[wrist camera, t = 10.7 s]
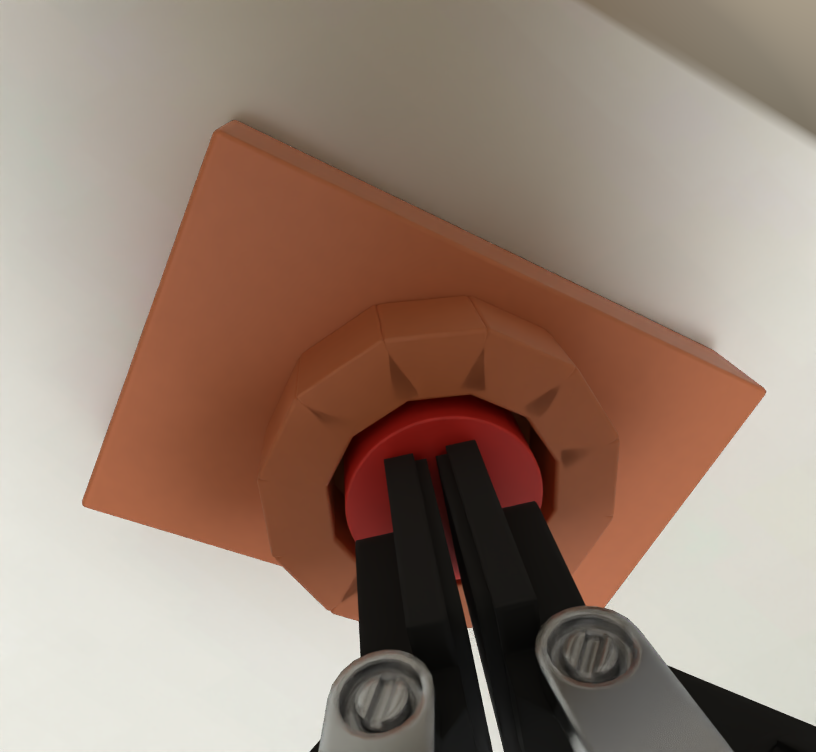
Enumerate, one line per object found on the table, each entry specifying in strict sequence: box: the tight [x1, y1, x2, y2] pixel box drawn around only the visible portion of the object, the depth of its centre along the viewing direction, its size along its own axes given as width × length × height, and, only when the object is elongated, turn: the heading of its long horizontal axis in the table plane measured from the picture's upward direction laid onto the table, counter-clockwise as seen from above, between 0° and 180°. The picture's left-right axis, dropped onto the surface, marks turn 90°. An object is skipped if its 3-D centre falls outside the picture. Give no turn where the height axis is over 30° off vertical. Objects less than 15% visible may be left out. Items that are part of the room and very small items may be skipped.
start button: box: [344, 394, 543, 580], centre depth 13 cm, size 4×4×2 cm
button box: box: [82, 120, 766, 628], centre depth 14 cm, size 12×8×4 cm, turn 64°
